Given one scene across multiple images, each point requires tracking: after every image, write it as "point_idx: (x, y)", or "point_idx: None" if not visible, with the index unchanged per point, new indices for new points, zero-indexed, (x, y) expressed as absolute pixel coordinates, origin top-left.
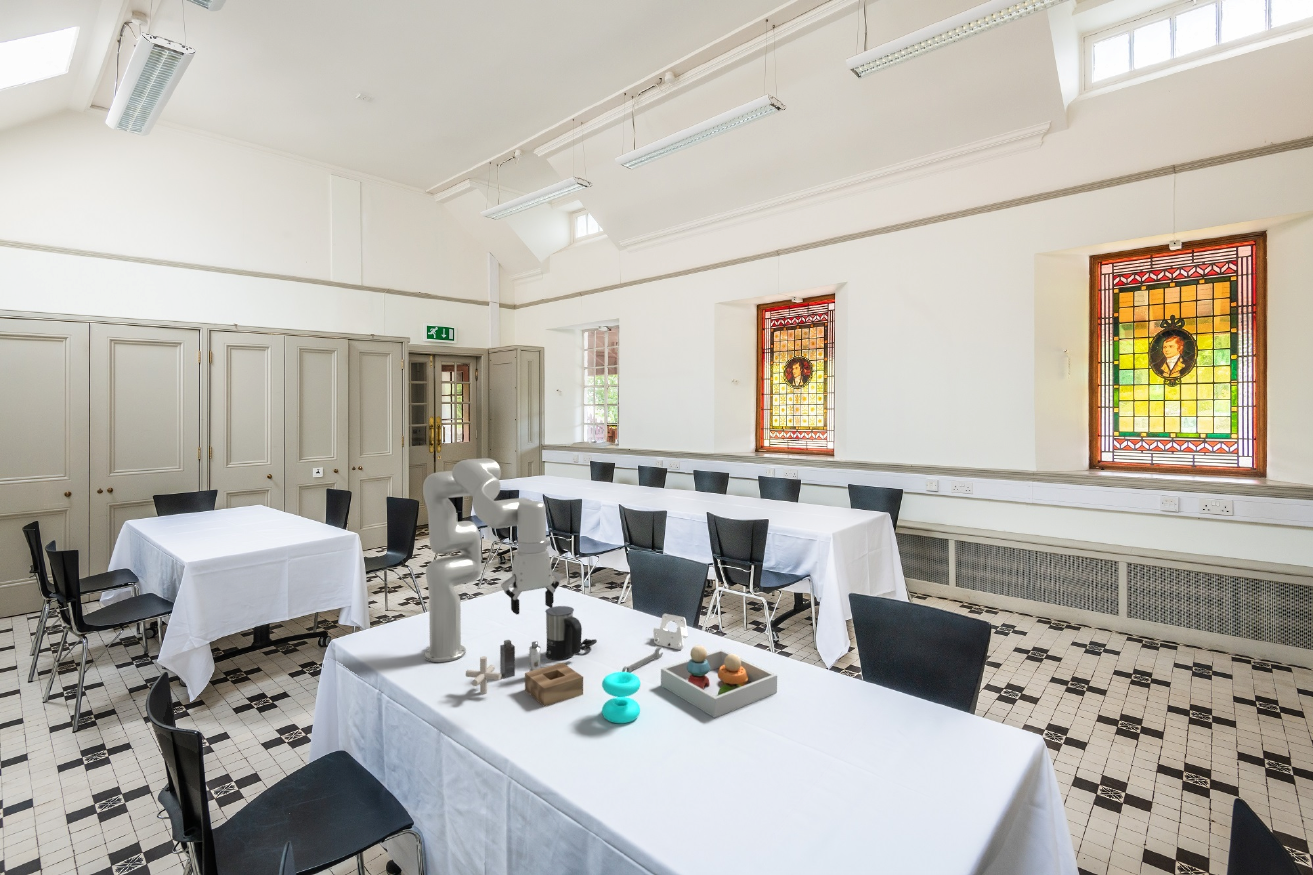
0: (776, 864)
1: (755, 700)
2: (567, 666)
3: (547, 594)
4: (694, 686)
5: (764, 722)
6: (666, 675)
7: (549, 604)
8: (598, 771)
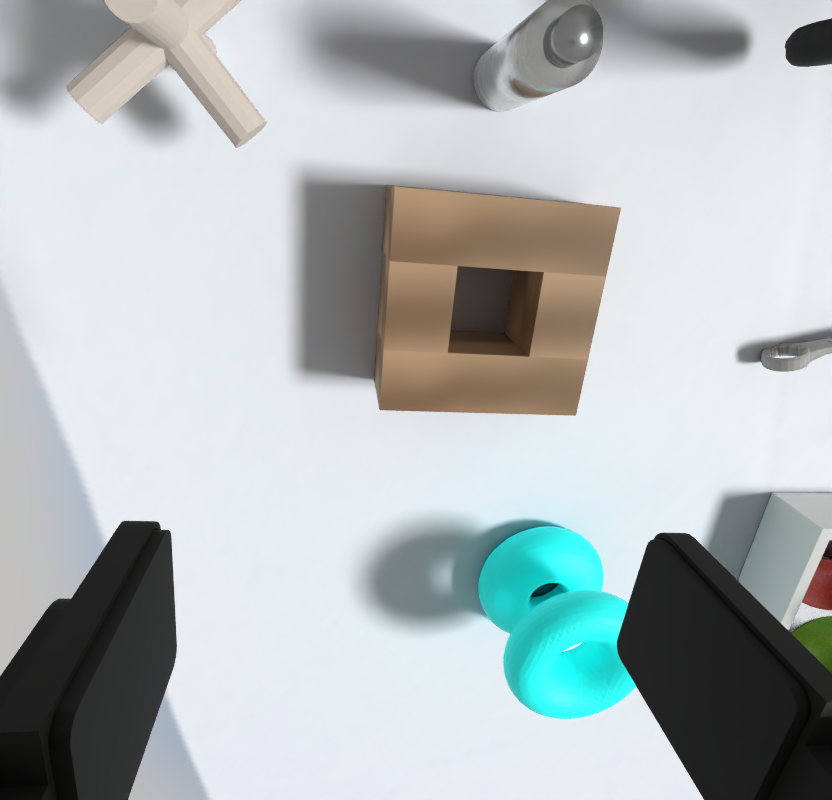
0: None
1: None
2: (603, 271)
3: (741, 745)
4: None
5: None
6: (798, 548)
7: (635, 668)
8: (308, 733)
